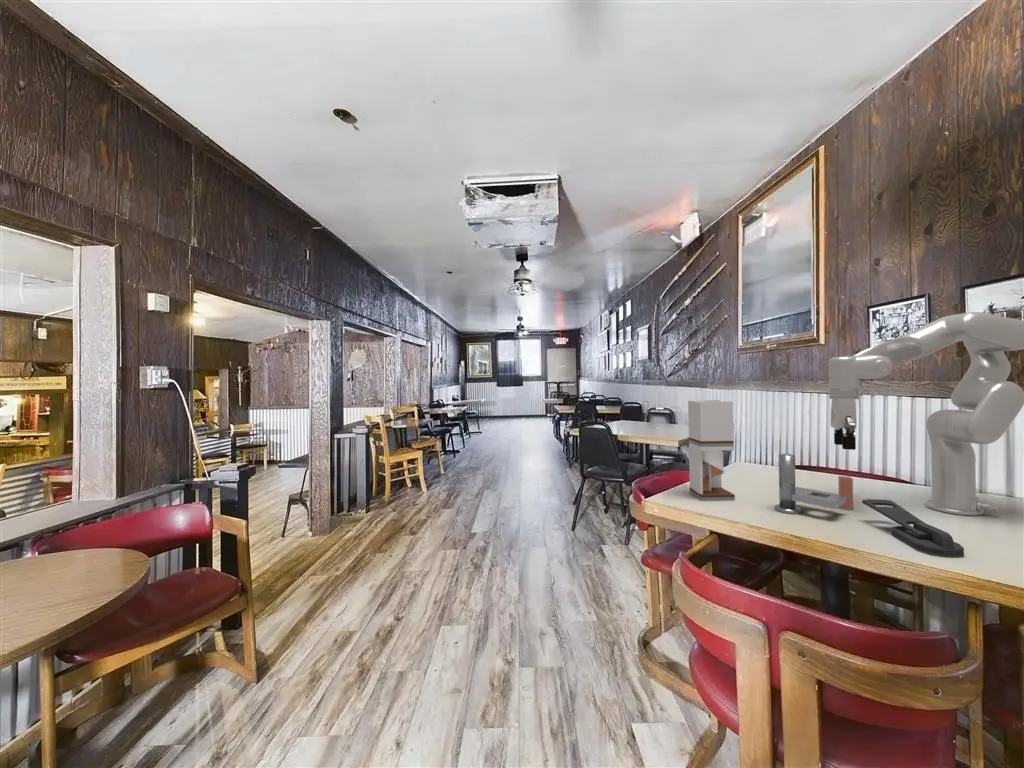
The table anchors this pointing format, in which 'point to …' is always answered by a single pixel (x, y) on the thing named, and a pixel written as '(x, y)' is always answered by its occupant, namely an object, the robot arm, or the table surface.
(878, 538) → the table surface
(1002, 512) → the table surface
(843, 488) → the reddish brown rectangular block
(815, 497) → the rosette post
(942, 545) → the zipper pull
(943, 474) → the robot arm
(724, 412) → the white tower model
